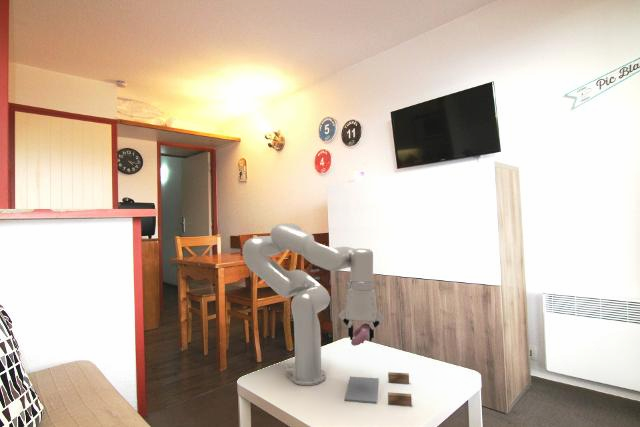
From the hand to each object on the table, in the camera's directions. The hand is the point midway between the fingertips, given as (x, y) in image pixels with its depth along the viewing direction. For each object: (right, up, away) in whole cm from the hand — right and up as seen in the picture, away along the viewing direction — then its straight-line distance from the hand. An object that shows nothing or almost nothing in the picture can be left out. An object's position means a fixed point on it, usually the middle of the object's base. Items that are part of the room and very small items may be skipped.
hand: (361, 338), depth 115 cm
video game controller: (0, -1, 0) cm, 1 cm away
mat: (0, -17, -1) cm, 17 cm away
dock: (+12, -17, -3) cm, 21 cm away
